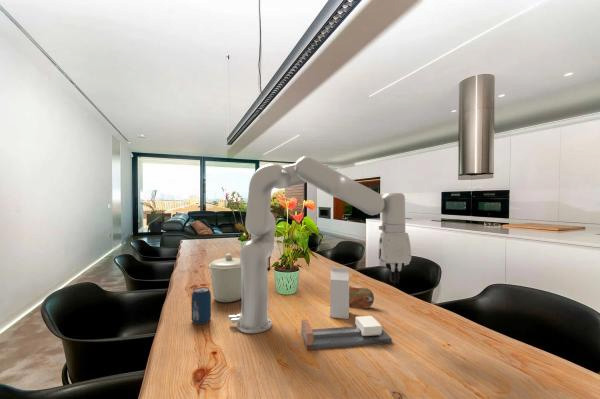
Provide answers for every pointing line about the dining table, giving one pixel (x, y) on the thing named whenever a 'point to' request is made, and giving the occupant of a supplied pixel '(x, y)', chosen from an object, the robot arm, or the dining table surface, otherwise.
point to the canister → (226, 278)
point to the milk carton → (339, 292)
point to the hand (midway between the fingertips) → (394, 282)
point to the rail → (339, 337)
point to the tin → (360, 297)
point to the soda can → (201, 305)
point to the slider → (368, 326)
